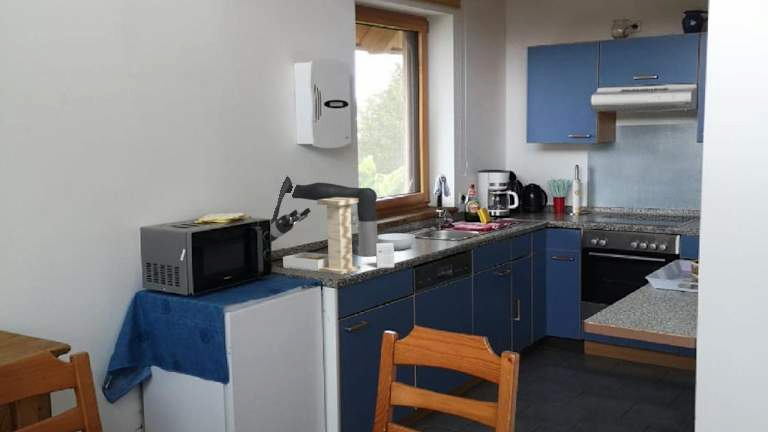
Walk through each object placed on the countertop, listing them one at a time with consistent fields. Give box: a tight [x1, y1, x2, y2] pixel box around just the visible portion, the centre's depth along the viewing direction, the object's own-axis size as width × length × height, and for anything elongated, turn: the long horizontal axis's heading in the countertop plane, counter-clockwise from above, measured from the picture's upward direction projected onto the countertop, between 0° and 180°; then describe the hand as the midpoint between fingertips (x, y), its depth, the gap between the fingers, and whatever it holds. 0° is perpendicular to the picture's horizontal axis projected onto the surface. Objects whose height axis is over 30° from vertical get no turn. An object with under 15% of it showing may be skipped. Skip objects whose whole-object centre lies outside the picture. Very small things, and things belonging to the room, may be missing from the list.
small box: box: [375, 243, 395, 269], centre depth 358 cm, size 8×6×10 cm
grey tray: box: [282, 251, 329, 273], centre depth 361 cm, size 15×21×5 cm
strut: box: [294, 253, 326, 260], centre depth 361 cm, size 6×16×5 cm, turn 54°
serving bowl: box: [377, 232, 416, 252], centre depth 408 cm, size 21×21×7 cm
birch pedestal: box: [316, 197, 361, 275], centre depth 349 cm, size 14×12×32 cm
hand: (303, 210), depth 360 cm, fingers open, 8 cm apart
